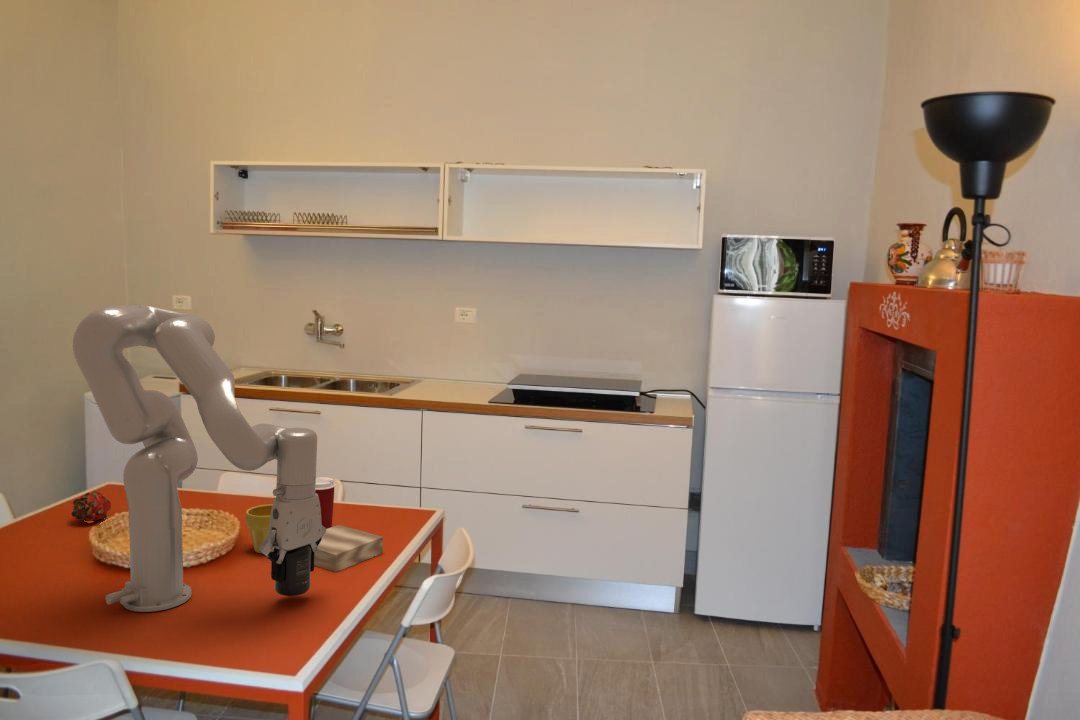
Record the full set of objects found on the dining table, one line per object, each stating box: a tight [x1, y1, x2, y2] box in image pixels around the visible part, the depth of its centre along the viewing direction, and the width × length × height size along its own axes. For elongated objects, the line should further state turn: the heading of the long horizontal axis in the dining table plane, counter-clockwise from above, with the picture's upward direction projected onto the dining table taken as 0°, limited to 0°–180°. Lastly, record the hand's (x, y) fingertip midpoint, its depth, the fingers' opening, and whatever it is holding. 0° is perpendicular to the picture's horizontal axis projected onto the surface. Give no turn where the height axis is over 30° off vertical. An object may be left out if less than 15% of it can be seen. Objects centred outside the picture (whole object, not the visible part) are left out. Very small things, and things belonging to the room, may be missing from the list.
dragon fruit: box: [71, 490, 112, 521], centre depth 202 cm, size 8×8×12 cm
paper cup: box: [315, 476, 337, 529], centre depth 198 cm, size 8×8×14 cm
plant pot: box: [245, 503, 273, 555], centre depth 186 cm, size 10×10×10 cm
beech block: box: [314, 524, 384, 573], centre depth 184 cm, size 15×15×4 cm
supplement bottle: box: [274, 545, 311, 597], centre depth 157 cm, size 7×7×12 cm
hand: (292, 574), depth 157 cm, fingers closed on supplement bottle, 6 cm apart
